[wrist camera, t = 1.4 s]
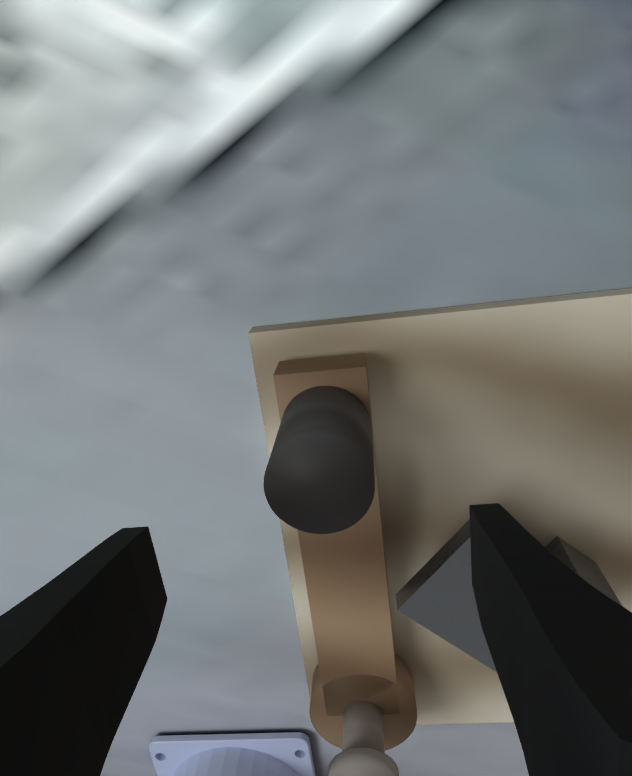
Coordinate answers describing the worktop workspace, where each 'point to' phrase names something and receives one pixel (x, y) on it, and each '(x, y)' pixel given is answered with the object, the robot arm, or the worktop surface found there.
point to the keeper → (472, 592)
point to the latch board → (479, 450)
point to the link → (341, 558)
